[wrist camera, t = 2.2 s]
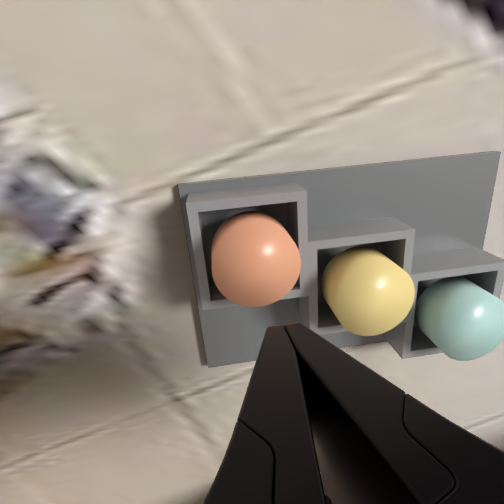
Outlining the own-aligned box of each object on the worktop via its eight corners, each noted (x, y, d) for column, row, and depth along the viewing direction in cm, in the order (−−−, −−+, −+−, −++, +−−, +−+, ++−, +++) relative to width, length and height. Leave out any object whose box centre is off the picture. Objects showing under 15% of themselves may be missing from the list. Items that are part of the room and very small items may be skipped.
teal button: (483, 272, 16) (518, 291, 15) (472, 330, 18) (502, 354, 16) (417, 281, 16) (444, 301, 14) (410, 339, 17) (435, 365, 15)
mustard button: (393, 242, 15) (418, 258, 13) (388, 306, 16) (410, 330, 15) (320, 251, 15) (336, 269, 13) (320, 316, 16) (335, 341, 14)
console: (494, 151, 16) (539, 155, 14) (463, 325, 20) (494, 350, 18) (178, 183, 15) (173, 194, 13) (208, 362, 19) (207, 395, 16)
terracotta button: (287, 206, 14) (299, 219, 12) (290, 279, 15) (302, 300, 13) (206, 215, 14) (205, 230, 12) (216, 289, 15) (217, 312, 13)
